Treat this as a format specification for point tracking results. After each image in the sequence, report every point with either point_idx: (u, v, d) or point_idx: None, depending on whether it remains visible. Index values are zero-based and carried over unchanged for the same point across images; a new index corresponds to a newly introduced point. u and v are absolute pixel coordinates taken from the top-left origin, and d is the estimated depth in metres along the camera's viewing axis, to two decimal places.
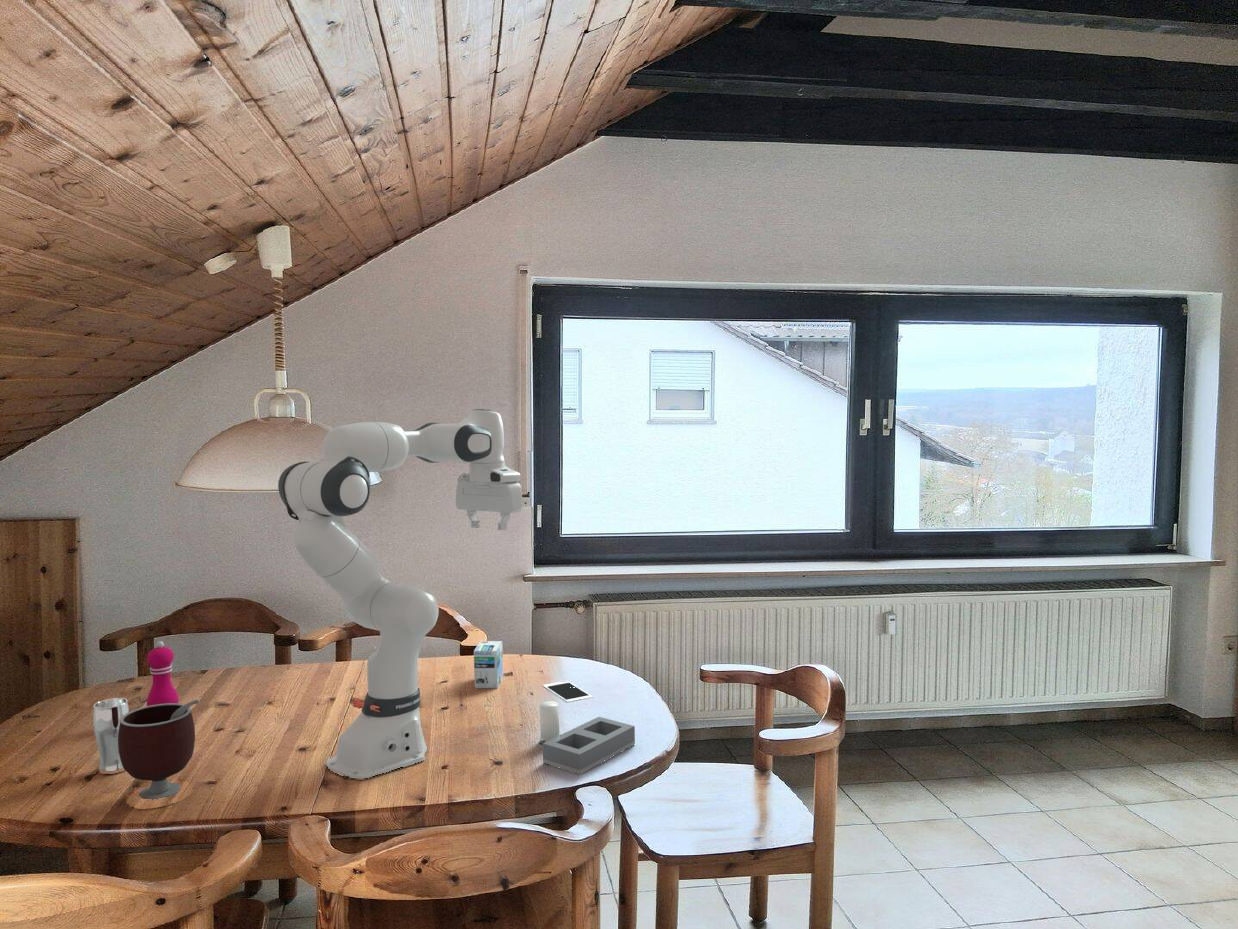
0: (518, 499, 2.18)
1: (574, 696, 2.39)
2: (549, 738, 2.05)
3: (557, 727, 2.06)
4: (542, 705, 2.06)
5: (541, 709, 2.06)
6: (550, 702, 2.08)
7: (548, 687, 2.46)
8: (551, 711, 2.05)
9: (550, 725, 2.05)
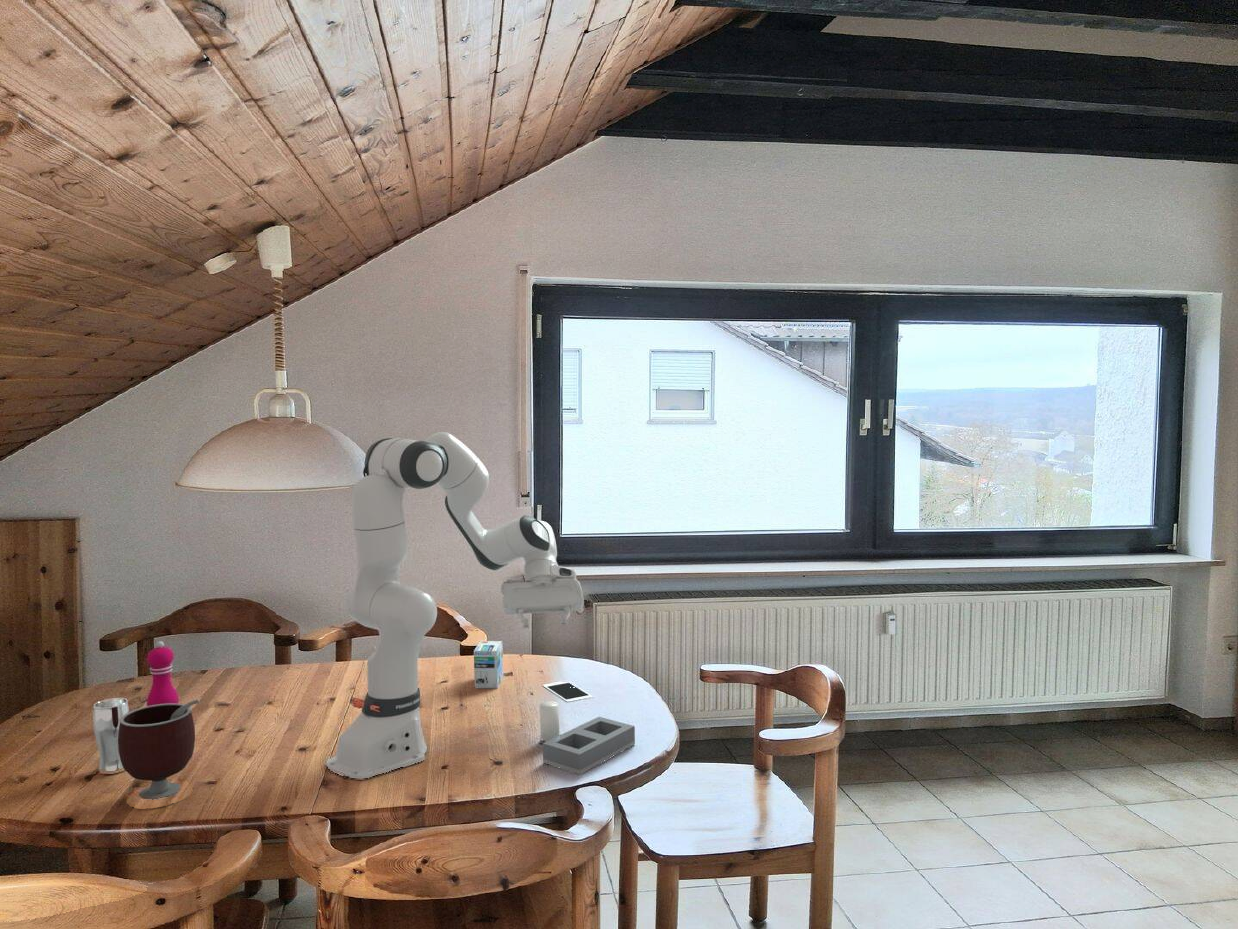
0: None
1: (574, 696, 2.39)
2: (549, 738, 2.05)
3: (557, 727, 2.06)
4: (542, 705, 2.06)
5: (541, 709, 2.06)
6: (550, 702, 2.08)
7: (548, 687, 2.46)
8: (551, 711, 2.05)
9: (550, 725, 2.05)
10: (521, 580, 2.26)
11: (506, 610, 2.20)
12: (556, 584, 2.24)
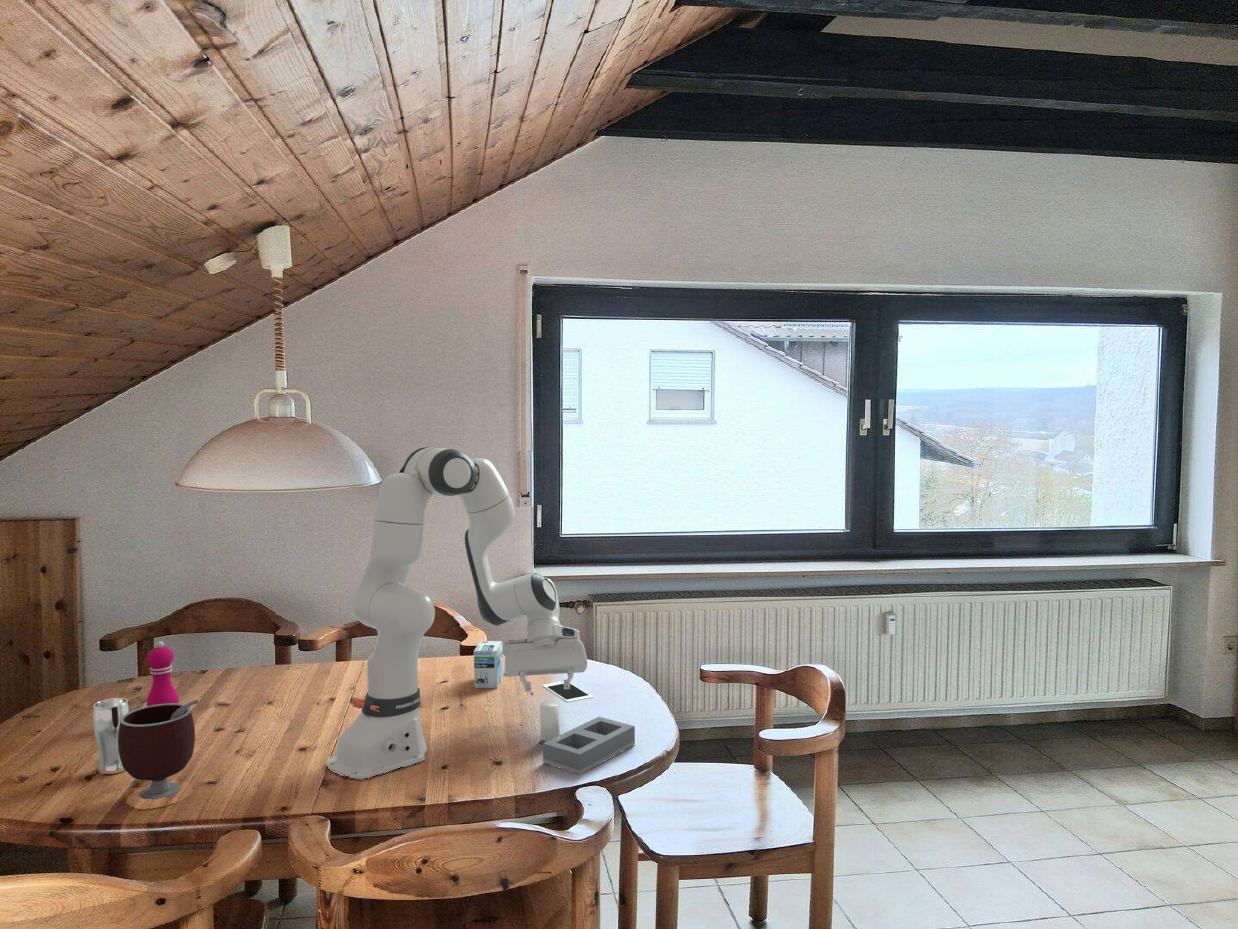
0: None
1: (574, 696, 2.39)
2: (549, 738, 2.05)
3: (557, 727, 2.06)
4: (542, 705, 2.06)
5: (541, 709, 2.06)
6: (550, 702, 2.08)
7: (548, 687, 2.46)
8: (551, 711, 2.05)
9: (550, 725, 2.05)
10: (523, 640, 2.21)
11: (508, 673, 2.15)
12: (559, 645, 2.19)
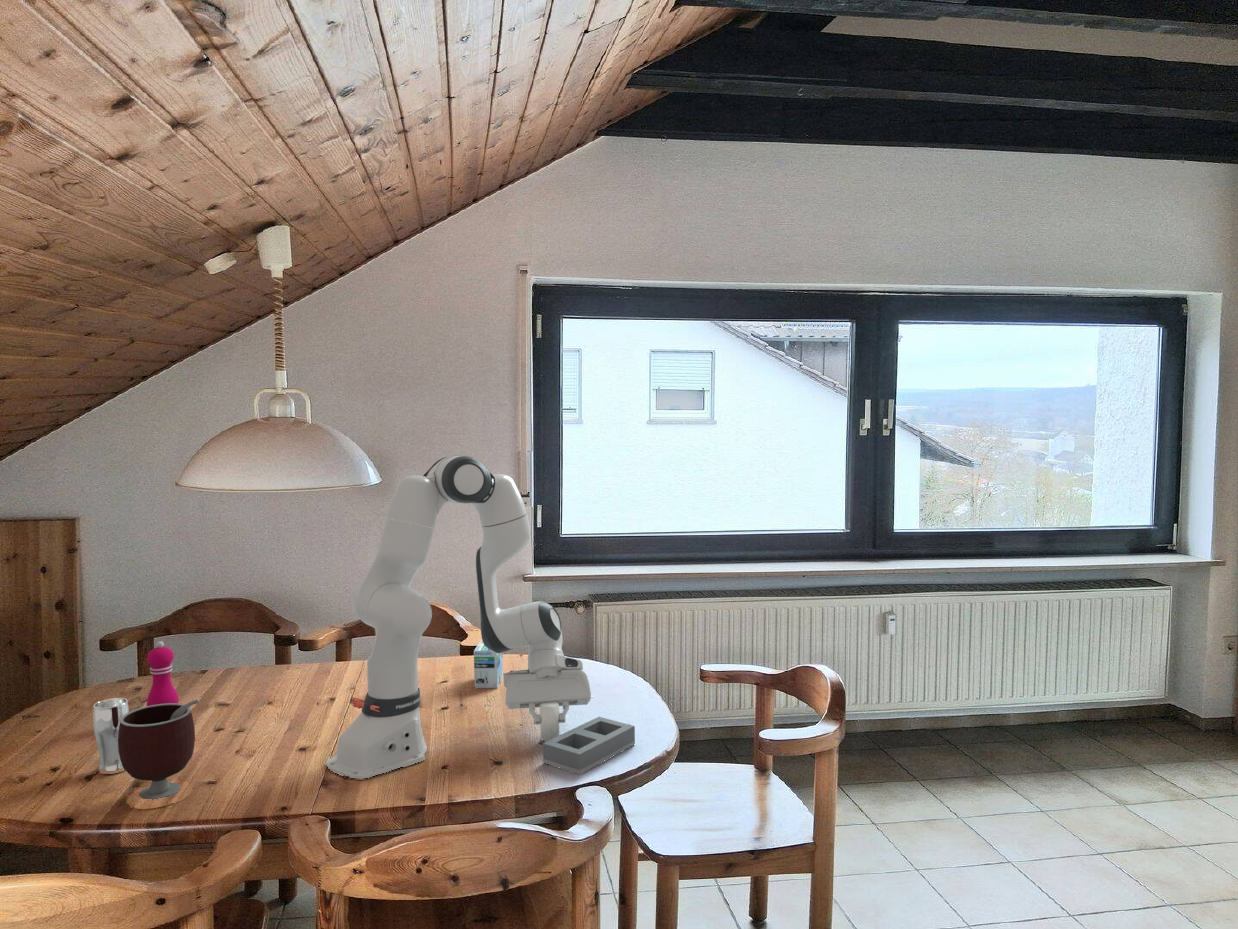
0: None
1: None
2: (549, 738, 2.05)
3: (557, 727, 2.06)
4: (542, 705, 2.06)
5: (541, 709, 2.06)
6: (550, 702, 2.08)
7: None
8: (551, 711, 2.05)
9: (550, 725, 2.05)
10: (525, 671, 2.14)
11: (509, 705, 2.08)
12: (562, 676, 2.13)
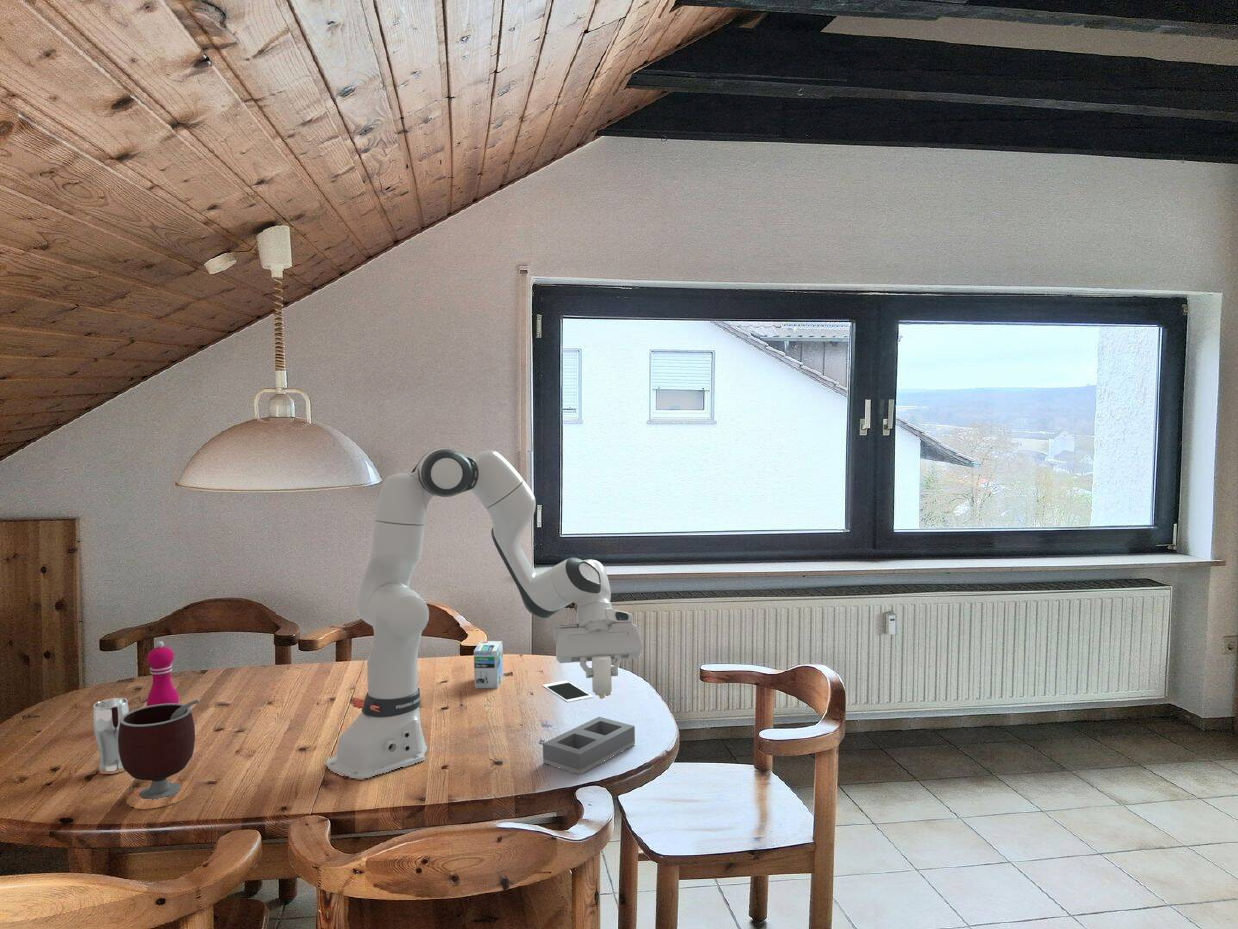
0: None
1: (574, 696, 2.39)
2: (602, 691, 2.02)
3: (610, 680, 2.03)
4: (594, 658, 2.03)
5: (593, 662, 2.02)
6: (602, 655, 2.04)
7: (548, 687, 2.46)
8: (603, 664, 2.01)
9: (603, 678, 2.01)
10: (574, 625, 2.10)
11: (560, 659, 2.04)
12: (612, 630, 2.09)
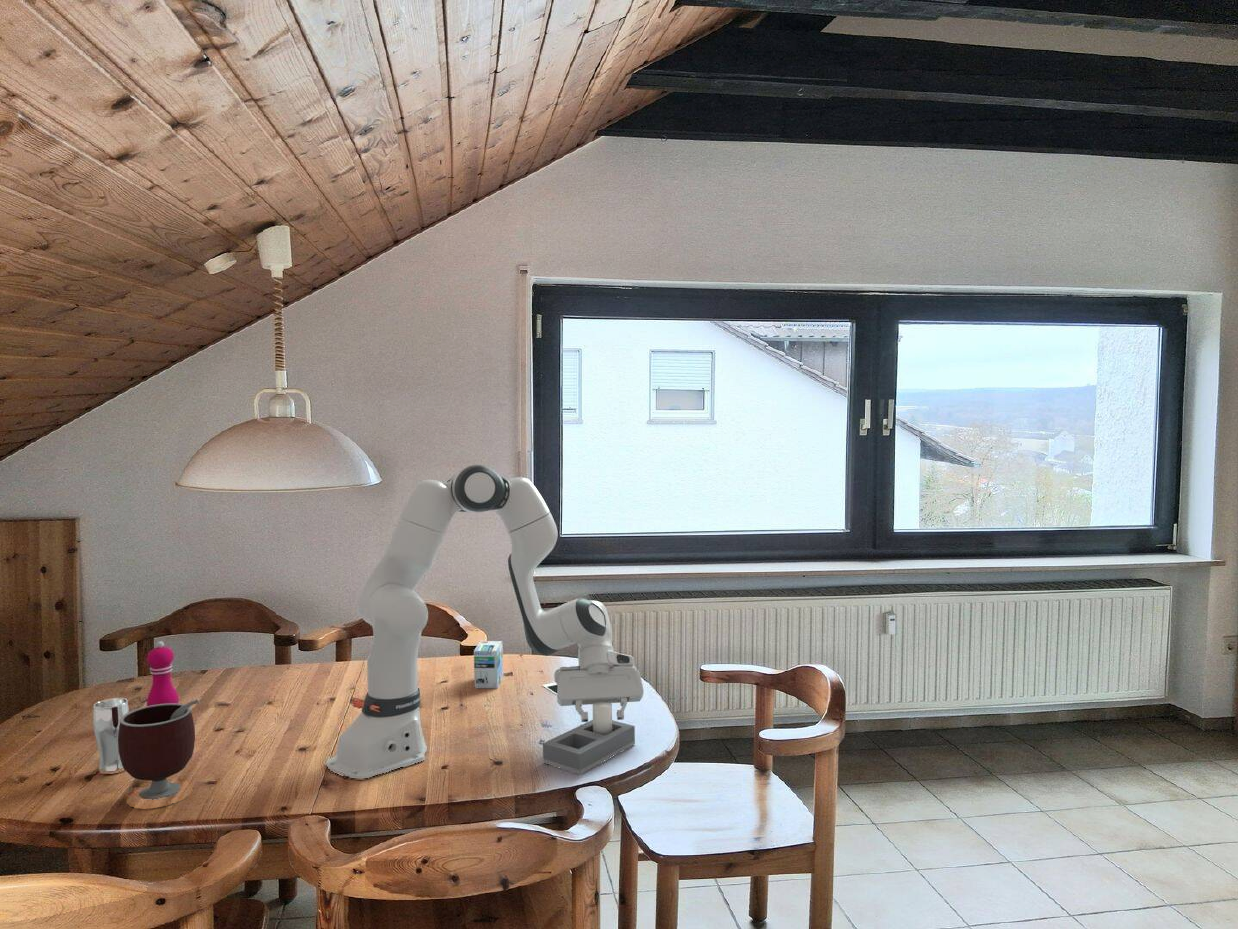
0: None
1: None
2: None
3: (610, 728, 2.03)
4: (595, 705, 2.03)
5: (594, 709, 2.02)
6: (603, 702, 2.05)
7: (548, 687, 2.46)
8: (604, 711, 2.02)
9: (603, 726, 2.02)
10: (575, 667, 2.11)
11: (561, 702, 2.05)
12: (613, 673, 2.09)
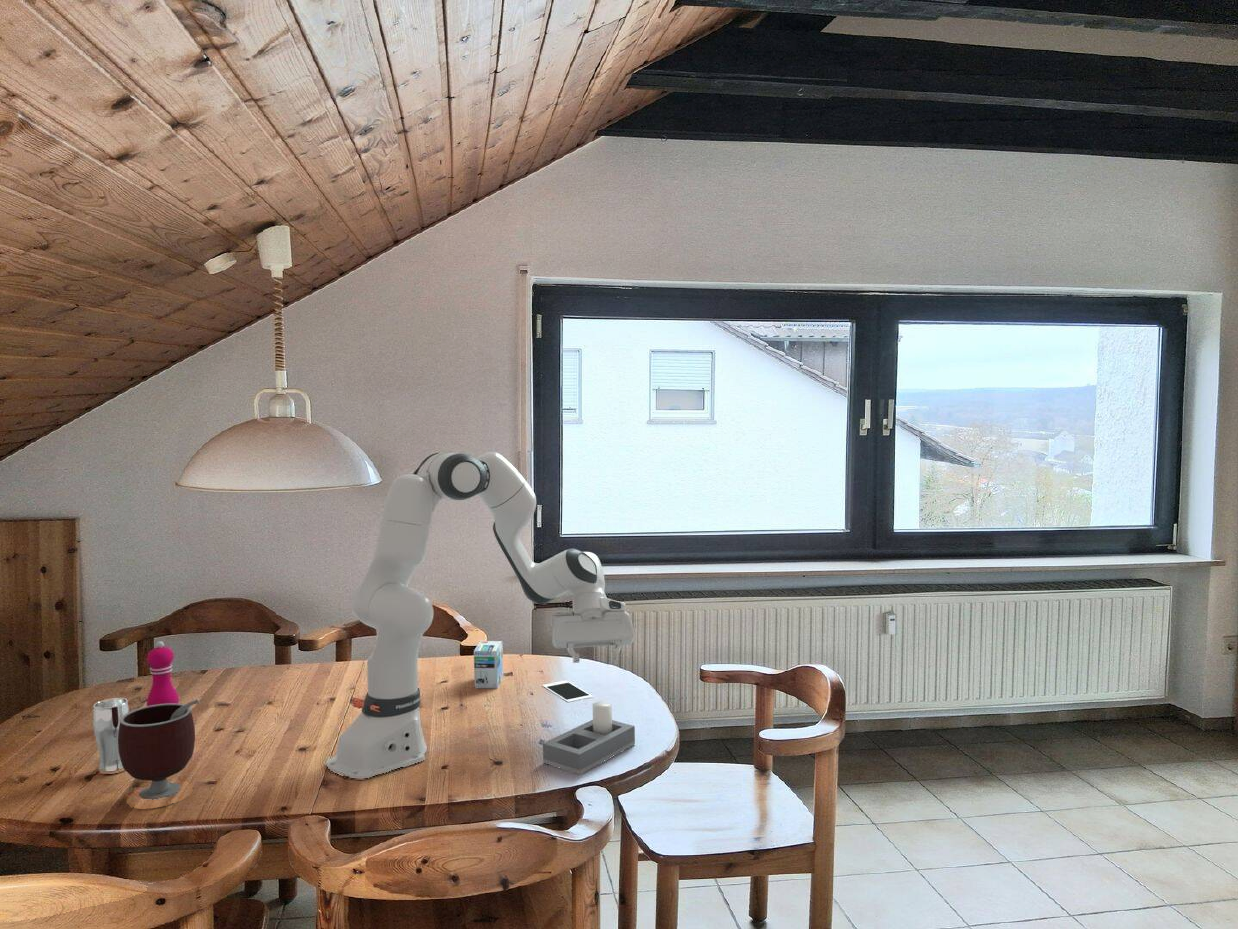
0: None
1: (574, 696, 2.39)
2: None
3: (610, 728, 2.03)
4: (595, 705, 2.03)
5: (594, 709, 2.02)
6: (603, 702, 2.05)
7: (548, 687, 2.46)
8: (604, 711, 2.02)
9: (603, 726, 2.02)
10: (570, 613, 2.23)
11: (556, 644, 2.17)
12: (606, 617, 2.21)
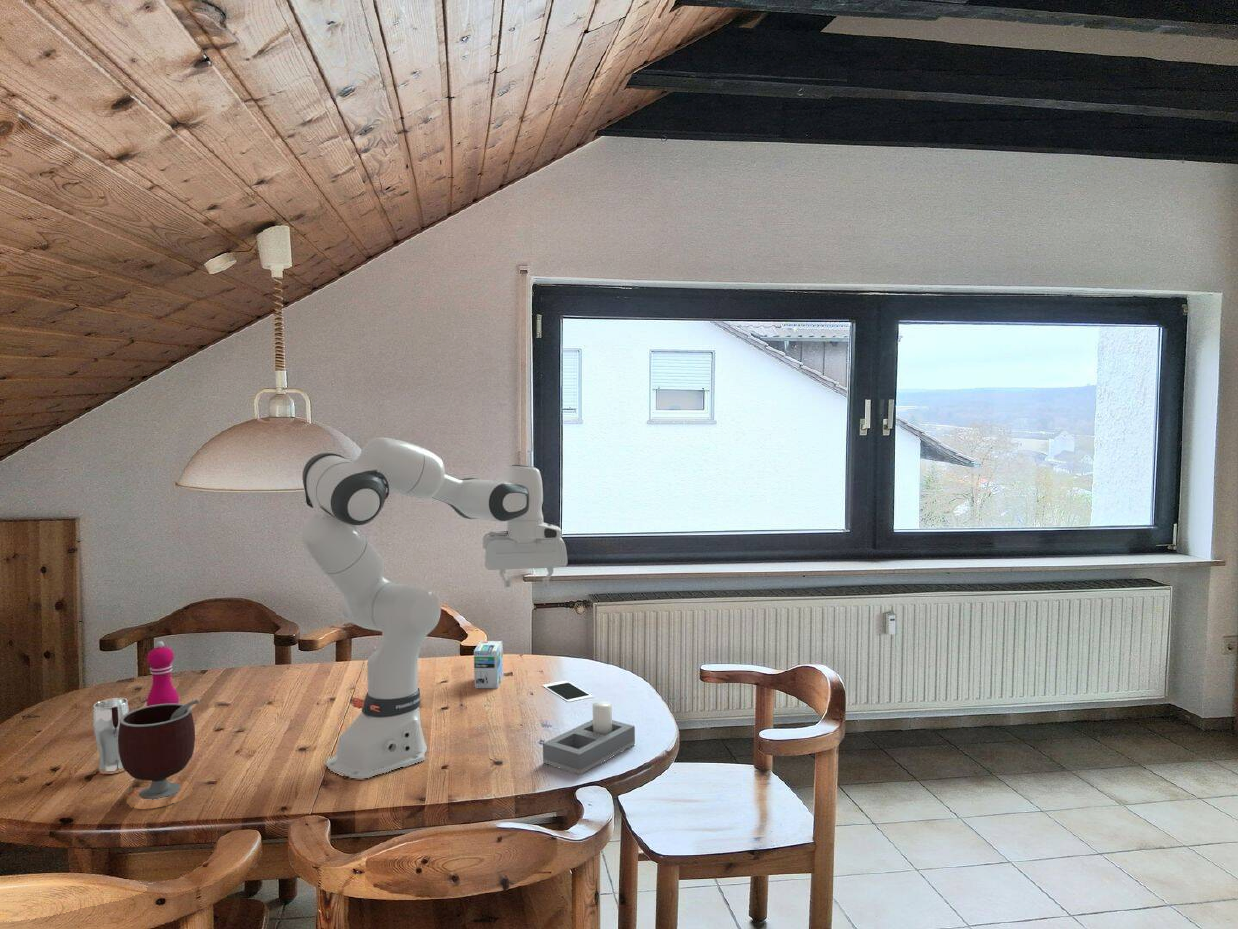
0: None
1: (574, 696, 2.39)
2: None
3: (610, 728, 2.03)
4: (595, 705, 2.03)
5: (594, 709, 2.02)
6: (603, 702, 2.05)
7: (548, 687, 2.46)
8: (604, 711, 2.02)
9: (603, 726, 2.02)
10: (504, 534, 2.16)
11: None
12: (540, 544, 2.16)
